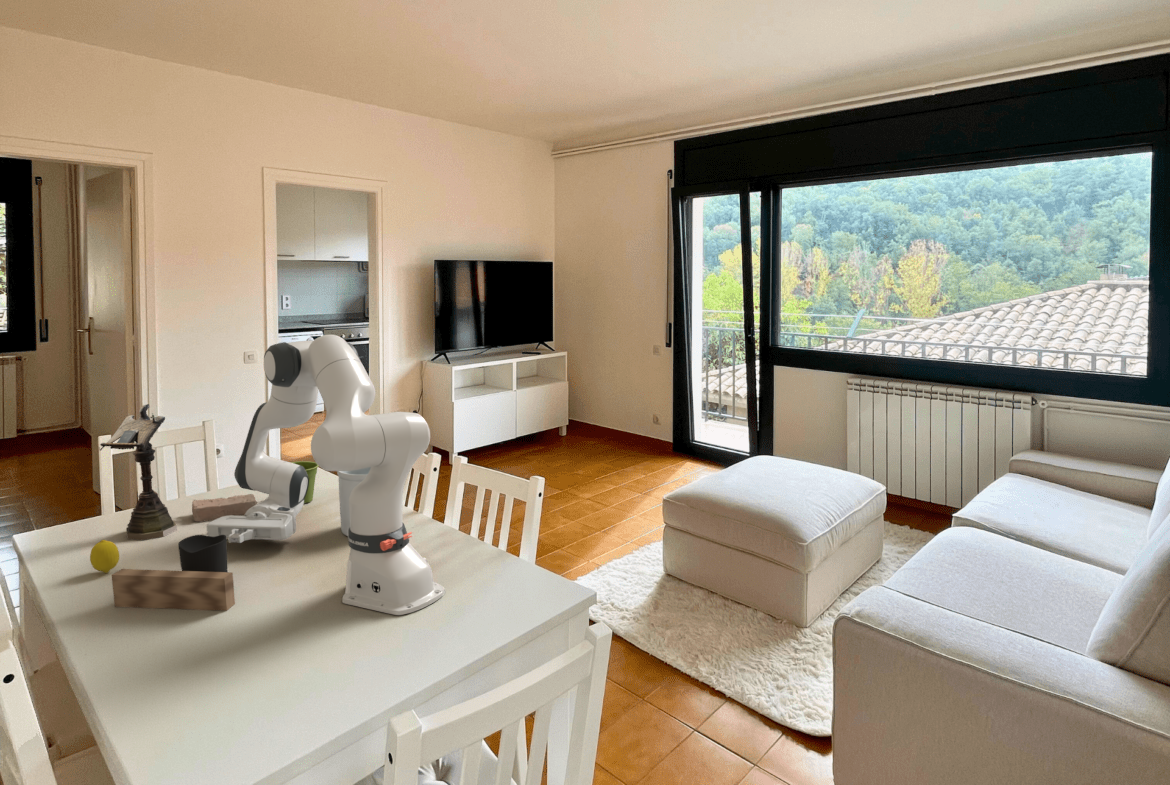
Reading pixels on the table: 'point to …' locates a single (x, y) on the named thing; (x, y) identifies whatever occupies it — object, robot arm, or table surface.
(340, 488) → the utensil holder
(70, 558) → the table surface
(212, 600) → the walnut board
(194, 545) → the pen holder
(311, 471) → the plant pot
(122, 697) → the table surface
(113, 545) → the lemon
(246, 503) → the brick
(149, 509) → the ornate lectern
